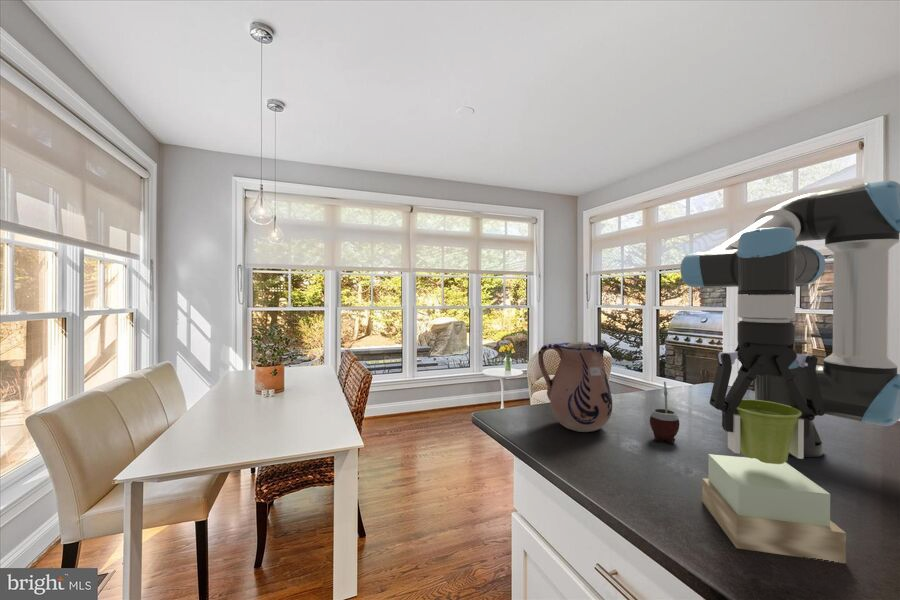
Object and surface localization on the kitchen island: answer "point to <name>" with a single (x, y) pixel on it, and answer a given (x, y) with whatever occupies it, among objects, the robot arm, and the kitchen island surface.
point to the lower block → (775, 532)
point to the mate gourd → (664, 423)
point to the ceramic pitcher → (578, 386)
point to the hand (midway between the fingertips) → (764, 452)
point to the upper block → (768, 490)
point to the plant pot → (766, 429)
